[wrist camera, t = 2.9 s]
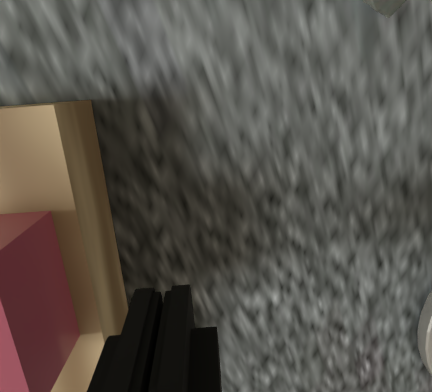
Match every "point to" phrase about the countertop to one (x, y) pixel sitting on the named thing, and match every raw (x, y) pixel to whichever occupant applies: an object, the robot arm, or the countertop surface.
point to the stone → (385, 6)
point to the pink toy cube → (33, 304)
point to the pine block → (68, 216)
